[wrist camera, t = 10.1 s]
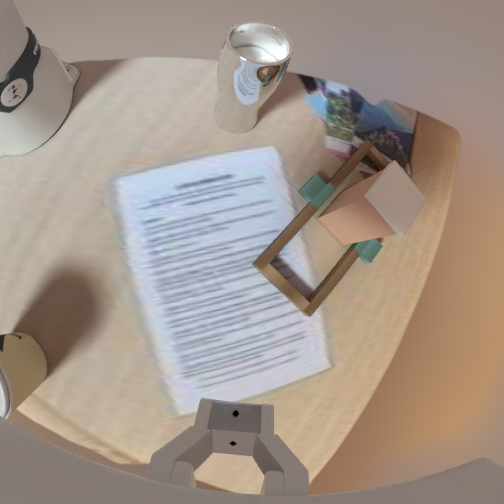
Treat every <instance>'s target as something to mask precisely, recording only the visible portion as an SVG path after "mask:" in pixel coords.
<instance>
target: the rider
mask: <svg viewBox="0 0 504 504" xmlns="http://www.w3.org/2000/svg"><path fill="white" fill-rule="evenodd" d="M425 201H426V199H425V197H424V196H423V195H422V193H421V192H420V191H419V189H418V188H417V187H416V186H415V184H414V183H413V182H412V180H411V179H410V178H409V177H408V175H407V174H406V173H405V172H404V170H403V169H402V168H401V167H400V166H399V164H398V163H397V162H396V161H395V160H394V161H393V162H391V163H389V164H388V166H387V167H386V168H385V169H383V170H381V171H379V172H378V173H376V174H374V175H372V176H370V177H369V178H367V179H365V180H363V181H361V182H359V183H358V184H356V185H354V186H352V187H350V188H349V189H347V190H345V191H343V192H341V193H340V194H338V196H337V197H336V198H335V199H334V200H333V201H332V202H331V204H330V205H329V206H328V207H327V208H326V209H325V211H324V212H323V213H322V214H321V215H320V216H319V217H318V219H319V220H320V222H321V223H322V224H323V225H324V226H325V227H326V228H327V229H328V230H329V231H330V232H331V233H332V234H333V235H334V236H335V237H336V238H337V240H338V241H339V242H340V243H341V244H342V245H347V244H352V243H357V242H362V241H366V240H371V239H375V238H380V237H385V236H389V235H394V234H397V235H398V236H403V235H405V234H406V232H407V230H408V229H409V227H410V226H411V224H412V222H413V221H414V219H415V218H416V216H417V214H418V213H419V211H420V209H421V208H422V206H423V204H424V203H425Z"/></svg>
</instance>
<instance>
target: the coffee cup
mask: <svg viewBox="0 0 504 504" xmlns="http://www.w3.org/2000/svg"><path fill="white" fill-rule="evenodd" d="M46 374H47V361H46V358H45V355H44V352H43V350H42V349H41V347H40V345H39V344H38V343H37V342H36V340H35V339H33V338H32V337H31V336H29V335H27V334H25V333H21V332H18V333H10V334H4V335H0V416H2V417H3V418H5V419H8V417H9V416H10V415H11V413H12V412H13V411H14V410H15V409H16V408H17V407H18V406H19V405H20V404H21V403H22V402H23V401H24V400H25V399H26V398H27V397H28V396H29V395H30V394H31V393H32V392H33V391H35V390H36V389H37V388H38V387H39V386H40V384H41V383H42V382H43V381H44V379H45V377H46Z"/></svg>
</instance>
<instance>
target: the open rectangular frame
mask: <svg viewBox="0 0 504 504" xmlns="http://www.w3.org/2000/svg"><path fill="white" fill-rule="evenodd" d="M365 155H366V156H367V157H368V158H369V159H370V160H371V161H372V163H373V164H374V165H375V166H376V167H377V168H378V169H379V170H380V171H381V170H383V169H385V168H386V167H387V166H388V164H389V162H388V161H387V160H386V159H385V158H384V157H383V155H382V154H381V153H380V152H379V151H378V150H377V149H376V148H375V146H374V145H373V144H372V143H371V142H370V141H369V140H367V141H366V142H364V143H363V144H362V145H361V146H360V147H359V148H358V149H357V150H356V152H355V153H354V154H353V155H352V156H351V157H350V158H349V159H348V160H347V161H346V163H345V164H344V165H343V166H342V167H341V168H340V169H339V170H338V171H337V172H336V174H335V175H334V176H333V177H332V178H331V179H330V180H329V181H328V182H327V183H325V182H324V181H323V180H322V179H321V178H320V177H319V176H318V175H317V174H315V175H314V176H313V177H312V178H311V179H310V180H309V181H308V182H307V183H306V184H305V185H304V186H303V187H302V188H301V189H300V190H299V191H298V192H299V193H300V194H301V195H302V196H303V197H304V198H305V199H306V200H307V201H308V202H309V203H308V204H307V205H306V206H305V207H304V209H303V210H302V211H301V212H300V213H299V214H298V215H297V216H296V217H295V218H294V219H293V220H292V222H291V223H290V224H289V225H288V226H287V227H286V228H285V229H284V230H283V231H282V232H281V233H280V235H279V236H278V237H277V238H276V239H275V240H274V241H273V242H272V243H271V244H270V245H269V246H268V248H267V249H266V250H265V251H264V252H263V253H262V254H261V255H260V256H259V257H258V258H257V259H256V261H255V262H254V263H253V265H254V266H255V267H256V268H257V269H258V270H259V271H260V272H261V273H262V274H263V275H264V276H265V277H266V278H267V279H268V280H269V281H270V282H271V283H272V284H273V285H274V286H275V287H276V288H277V289H278V290H280V291H281V292H282V293H283V294H284V295H285V296H286V297H287V298H288V299H289V300H290V301H291V302H292V303H293V304H294V305H295V306H296V307H297V308H298V309H299V310H300V311H301V312H302V313H304V314H305V315H306V316H309V317H310V316H311V315H312V314H313V313H314V312H315V311H316V309H317V308H318V307H319V306H320V305H321V303H322V302H323V301H324V300H325V298H326V297H327V296H328V295H329V294H330V292H331V291H332V290H333V289H334V287H335V286H336V285H337V284H338V282H339V281H340V280H341V279H342V277H343V276H344V275H345V273H346V272H347V271H348V270H349V268H350V267H351V266H352V264H353V263H354V262H355V261H356V259H357V258H358V257H360V258H361V259H362V260H363V261H364V262H365V263H369V262H372V260H373V259H374V258H375V256H376V255H377V253H378V252H379V251H380V249H381V248H382V245H381V244H380V243H379V241H378V240H377V239H376V238H375V239H371V240H366V241H362V242H357V243H353V244H352V245H351V246H350V248H349V249H348V250H347V252H346V253H345V254H344V255H343V257H342V258H341V259H340V260H339V262H338V263H337V264H336V265H335V267H334V268H333V269H332V270H331V272H330V273H329V274H328V275H327V276H326V278H325V279H324V280H323V281H322V283H321V284H320V285H319V286H318V287H317V289H316V290H315V291H314V292H313V293H312V295H311V296H310V297H309V298H308V299H307V300H306V299H305V298H304V297H303V296H302V295H301V294H300V293H299V292H298V291H297V290H296V289H295V288H294V287H293V286H292V285H291V284H290V283H289V282H288V281H287V280H286V279H285V278H284V277H283V276H282V275H281V274H280V273H279V272H278V271H277V270H276V269H275V268H274V267H273V266H272V265H271V264H270V262H271V261H272V260H273V259H274V257H275V256H276V255H277V254H278V253H279V252H280V251H281V250H282V249H283V248H284V246H285V245H286V244H287V243H288V242H289V241H290V240H291V239H292V238H293V236H294V235H295V234H296V233H297V232H298V231H299V230H300V229H301V228H302V226H303V225H304V224H305V223H306V222H307V221H308V220H309V219H310V217H311V216H312V215H313V214H314V213H315V212H316V211H317V210H318V208H319V207H320V206H321V205H322V204H323V203H324V202H325V201H326V199H327V198H328V197H329V196H330V195H331V194H332V193H333V192H334V190H335V189H336V188H337V187H338V186H339V185H340V184H341V182H342V181H343V180H344V179H345V178H346V177H347V176H348V174H349V173H350V172H351V171H352V170H353V169H354V168H355V166H356V165H357V164H358V163H359V162H360V161H361V160H362V158H363V157H364V156H365Z"/></svg>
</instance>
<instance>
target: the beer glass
mask: <svg viewBox="0 0 504 504" xmlns="http://www.w3.org/2000/svg"><path fill="white" fill-rule="evenodd" d="M293 48H294V47H293V43H292V41H291V39H290V38H289V36H288V35H287V34H286V33H285V32H284V31H282V30H281V29H279V28H277V27H276V26H274V25H271V24H268V23H265V22H259V21H246V22H241V23H238V24H236V25H234V26H232V27H231V28H230V29H229V30H228V32H227V34H226V37H225V41H224V44H223V47H222V50H221V53H220V57H219V62H218V69H217V79H218V88H219V100H218V102H217V104H216V105H215V108H214V111H213V115H214V119H215V122H216V123H217V125H218V126H219V127H220V128H222V129H223V130H225V131H227V132H230V133H236V134H239V133H244V132H247V131H249V130H251V129H252V128H253V127H254V126H255V125H256V123H257V120H258V114H259V109H260V107H261V106H262V105H263V104H264V103H265V101H266V100H267V99H268V98H269V97H270V96H271V95H272V94H273V92H274V91H275V90H276V88H277V87H278V85H279V83H280V82H281V80H282V78H283V76H284V74H285V71H286V69H287V66H288V64H289V60H290V58H291V56H292V54H293V50H294V49H293Z"/></svg>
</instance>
